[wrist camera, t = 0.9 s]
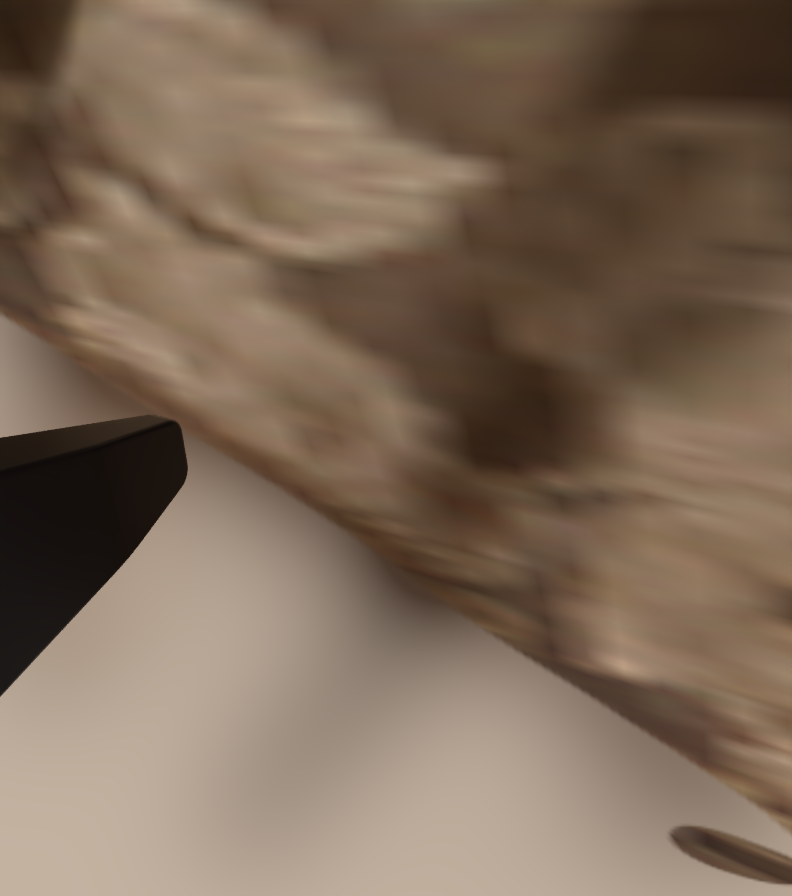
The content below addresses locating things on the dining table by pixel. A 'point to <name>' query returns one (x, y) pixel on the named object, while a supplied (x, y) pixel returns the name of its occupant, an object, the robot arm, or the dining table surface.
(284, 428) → the dining table surface
